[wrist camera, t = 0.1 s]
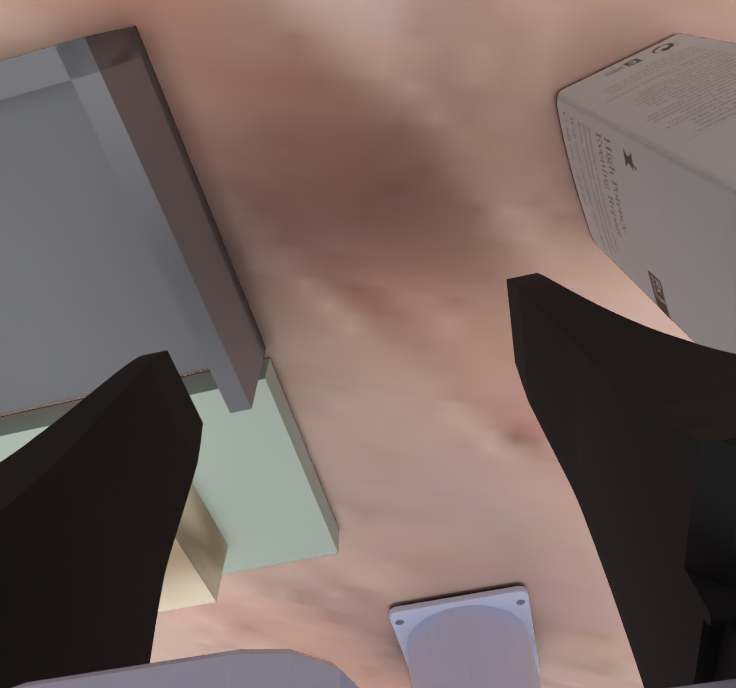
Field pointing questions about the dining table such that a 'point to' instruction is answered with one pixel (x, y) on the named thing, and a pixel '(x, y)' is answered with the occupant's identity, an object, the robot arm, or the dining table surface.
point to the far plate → (238, 473)
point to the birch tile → (194, 559)
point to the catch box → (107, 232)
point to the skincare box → (663, 176)
